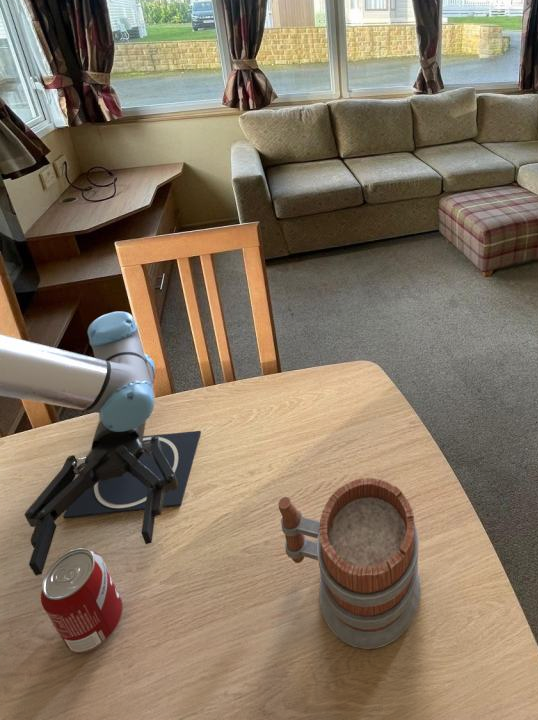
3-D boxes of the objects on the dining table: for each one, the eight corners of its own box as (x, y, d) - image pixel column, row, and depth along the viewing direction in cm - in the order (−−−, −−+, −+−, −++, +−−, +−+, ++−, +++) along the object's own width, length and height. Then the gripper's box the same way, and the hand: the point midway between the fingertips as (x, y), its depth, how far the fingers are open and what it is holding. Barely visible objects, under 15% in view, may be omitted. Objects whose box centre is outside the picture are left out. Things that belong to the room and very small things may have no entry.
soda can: (107, 656, 61) (79, 605, 55) (54, 655, 61) (21, 604, 56) (133, 594, 67) (110, 543, 62) (85, 593, 67) (58, 542, 62)
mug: (408, 667, 59) (409, 601, 53) (266, 619, 64) (251, 553, 57) (428, 548, 72) (431, 483, 65) (308, 515, 76) (300, 451, 70)
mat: (63, 518, 76) (62, 516, 76) (100, 441, 89) (99, 439, 89) (180, 505, 78) (180, 503, 78) (200, 432, 90) (200, 430, 90)
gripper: (200, 424, 89) (194, 541, 70) (47, 460, 82) (-4, 599, 64) (193, 394, 85) (184, 509, 67) (32, 429, 79) (-26, 566, 61)
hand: (92, 553), depth 66 cm, fingers open, 13 cm apart
